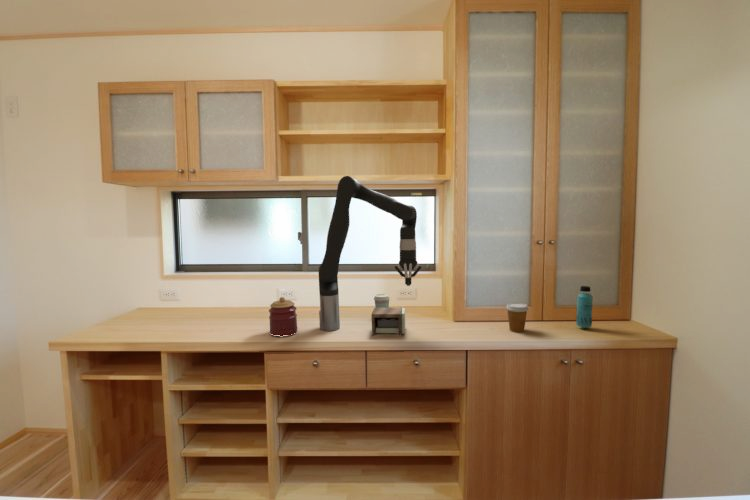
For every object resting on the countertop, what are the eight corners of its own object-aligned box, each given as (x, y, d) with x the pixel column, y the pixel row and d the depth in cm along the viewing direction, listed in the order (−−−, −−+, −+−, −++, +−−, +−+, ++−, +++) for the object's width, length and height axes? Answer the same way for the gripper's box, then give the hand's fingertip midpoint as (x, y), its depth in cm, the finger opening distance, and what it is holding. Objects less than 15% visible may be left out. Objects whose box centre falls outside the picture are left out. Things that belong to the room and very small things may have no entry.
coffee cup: (391, 315, 206) (391, 294, 205) (388, 319, 198) (387, 297, 197) (376, 314, 209) (376, 293, 207) (372, 319, 200) (371, 297, 199)
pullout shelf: (375, 333, 175) (374, 313, 174) (377, 326, 185) (377, 307, 184) (404, 333, 173) (404, 313, 172) (405, 326, 183) (404, 308, 182)
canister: (294, 337, 174) (292, 299, 173) (266, 338, 174) (264, 300, 172) (299, 328, 187) (298, 293, 186) (273, 329, 187) (271, 294, 185)
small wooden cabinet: (372, 335, 174) (371, 314, 173) (375, 327, 186) (374, 307, 185) (401, 335, 172) (400, 314, 171) (402, 327, 184) (401, 307, 183)
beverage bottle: (572, 327, 177) (573, 285, 175) (583, 325, 179) (584, 284, 177) (584, 331, 171) (586, 288, 169) (595, 329, 173) (596, 286, 171)
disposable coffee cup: (525, 327, 179) (526, 302, 178) (529, 333, 170) (530, 307, 169) (504, 326, 181) (504, 302, 180) (507, 333, 172) (507, 307, 171)
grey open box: (378, 329, 177) (377, 320, 176) (379, 326, 182) (378, 317, 182) (399, 329, 176) (399, 320, 175) (399, 326, 181) (399, 317, 181)
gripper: (422, 247, 177) (422, 284, 179) (394, 248, 178) (394, 284, 180) (422, 249, 170) (422, 287, 171) (393, 249, 171) (393, 287, 173)
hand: (408, 285), depth 176 cm, fingers closed
